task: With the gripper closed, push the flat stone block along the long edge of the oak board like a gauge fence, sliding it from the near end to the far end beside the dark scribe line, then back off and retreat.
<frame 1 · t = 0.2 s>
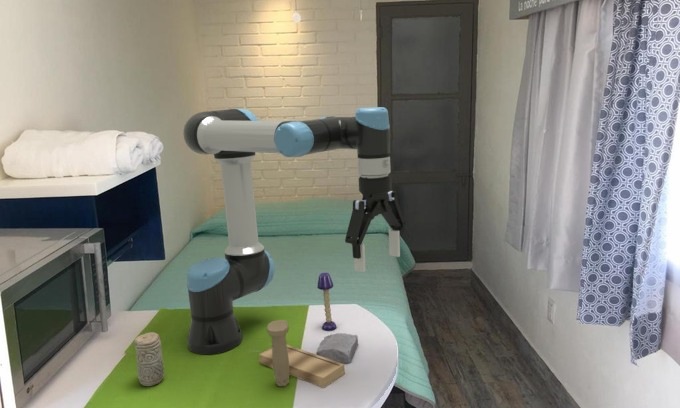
hand: (378, 263, 134), 28 cm above the table, tool pointing down, fingers open, 13 cm apart
handle: (282, 384, 135), on the table
toy lamp: (328, 328, 165), on the table
stone block: (336, 354, 149), on the table
carving: (152, 381, 140), on the table
oak board: (301, 368, 142), on the table
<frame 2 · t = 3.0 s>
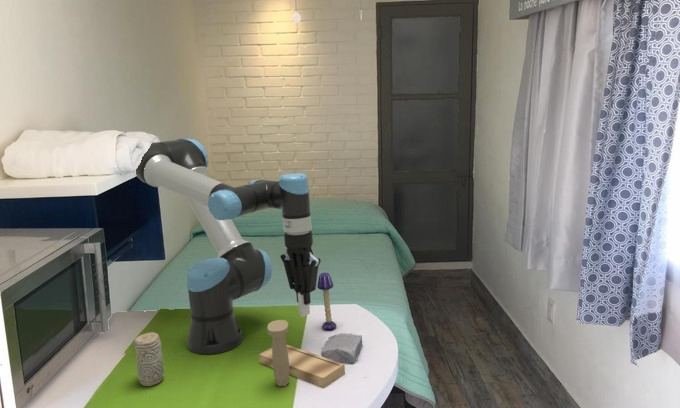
hand: (304, 314, 154), 8 cm above the table, tool pointing down, fingers closed
stone block: (341, 354, 149), on the table
everything else where it was.
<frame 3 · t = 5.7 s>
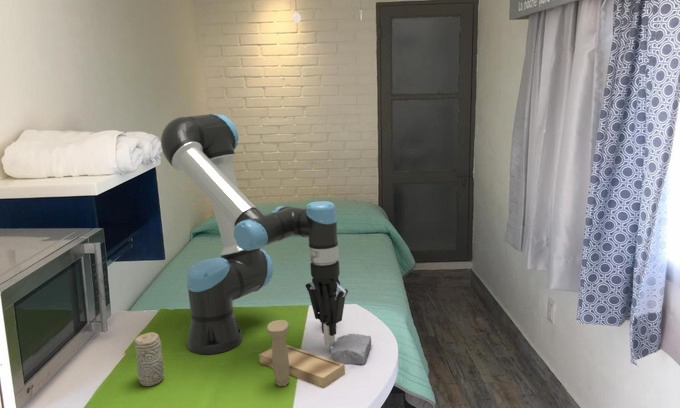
hand: (330, 345, 150), 2 cm above the table, tool pointing down, fingers closed
stone block: (350, 355, 148), on the table, touching gripper
everything else where it was.
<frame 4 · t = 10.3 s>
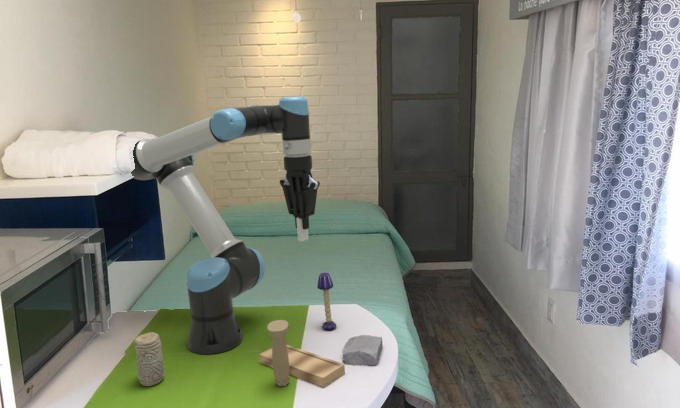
hand: (303, 240, 155), 28 cm above the table, tool pointing down, fingers closed
stone block: (362, 356, 147), on the table
everything else where it was.
at the end: stone block inside the target area (2.8 cm from its centre), on the table; stone block tilted 1°; stone block moved 7.2 cm from its start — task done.
